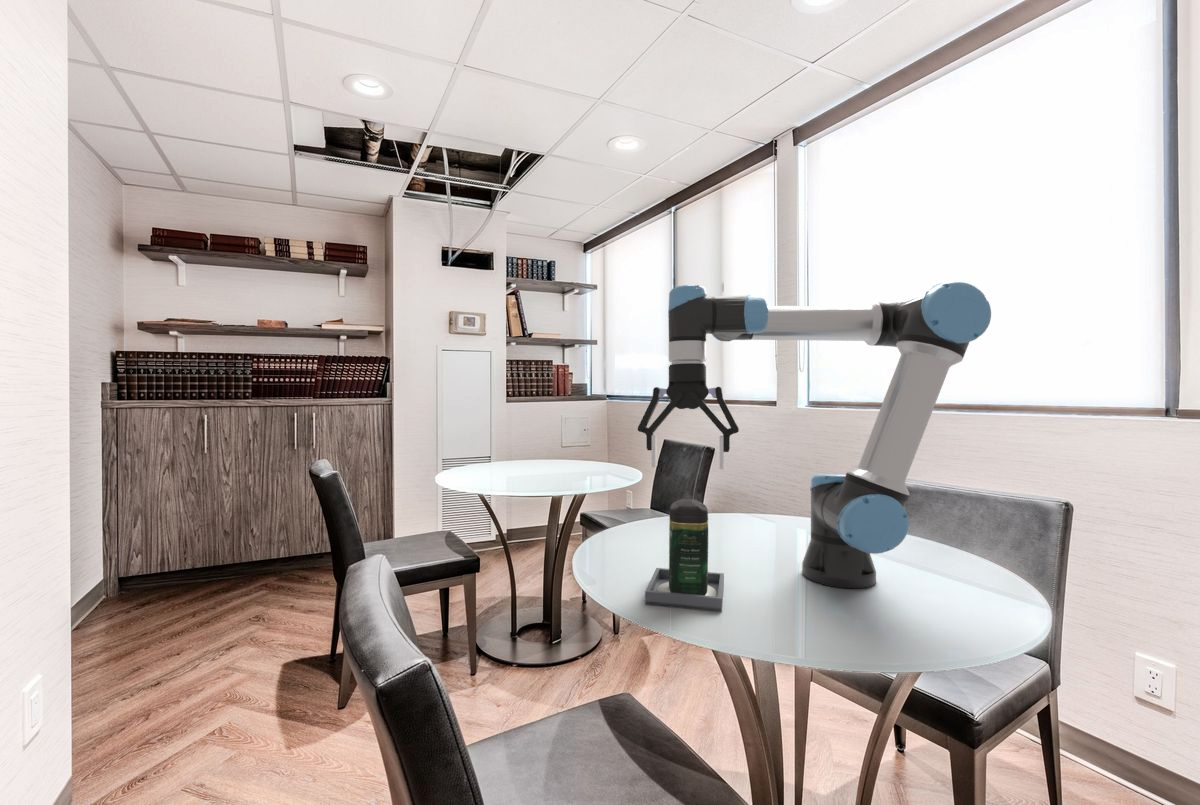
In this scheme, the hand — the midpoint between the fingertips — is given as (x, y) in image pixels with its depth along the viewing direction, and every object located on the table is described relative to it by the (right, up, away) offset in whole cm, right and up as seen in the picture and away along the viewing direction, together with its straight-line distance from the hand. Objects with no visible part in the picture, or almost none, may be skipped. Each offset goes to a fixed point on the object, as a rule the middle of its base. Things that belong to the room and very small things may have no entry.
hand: (687, 467), depth 109 cm
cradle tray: (0, -26, 0) cm, 26 cm away
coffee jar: (0, -26, 0) cm, 26 cm away
